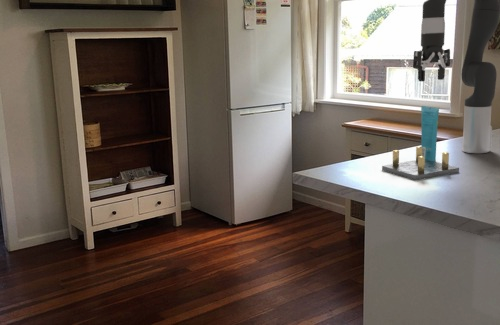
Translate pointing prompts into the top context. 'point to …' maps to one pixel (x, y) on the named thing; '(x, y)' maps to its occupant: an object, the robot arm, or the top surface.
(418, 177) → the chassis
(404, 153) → the top surface
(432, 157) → the tube
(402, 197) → the top surface
